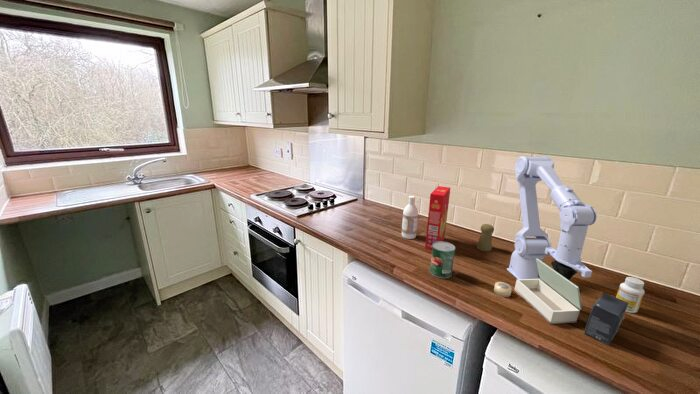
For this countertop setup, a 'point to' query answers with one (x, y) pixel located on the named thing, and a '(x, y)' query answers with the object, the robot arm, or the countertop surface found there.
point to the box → (605, 318)
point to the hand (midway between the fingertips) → (560, 285)
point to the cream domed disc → (502, 289)
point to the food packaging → (437, 216)
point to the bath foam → (410, 219)
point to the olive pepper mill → (485, 238)
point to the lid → (559, 283)
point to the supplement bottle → (631, 293)
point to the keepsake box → (546, 301)
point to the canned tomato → (442, 259)
